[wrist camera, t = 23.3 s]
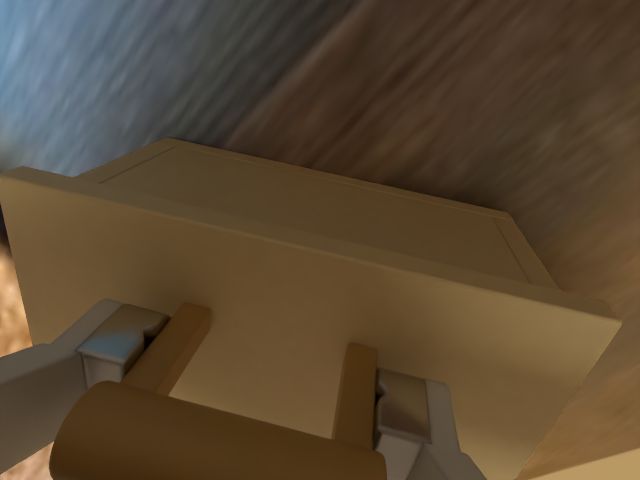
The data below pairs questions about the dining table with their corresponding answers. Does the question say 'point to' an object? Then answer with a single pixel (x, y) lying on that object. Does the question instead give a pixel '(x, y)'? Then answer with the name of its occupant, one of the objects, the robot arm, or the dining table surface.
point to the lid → (281, 340)
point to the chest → (328, 206)
